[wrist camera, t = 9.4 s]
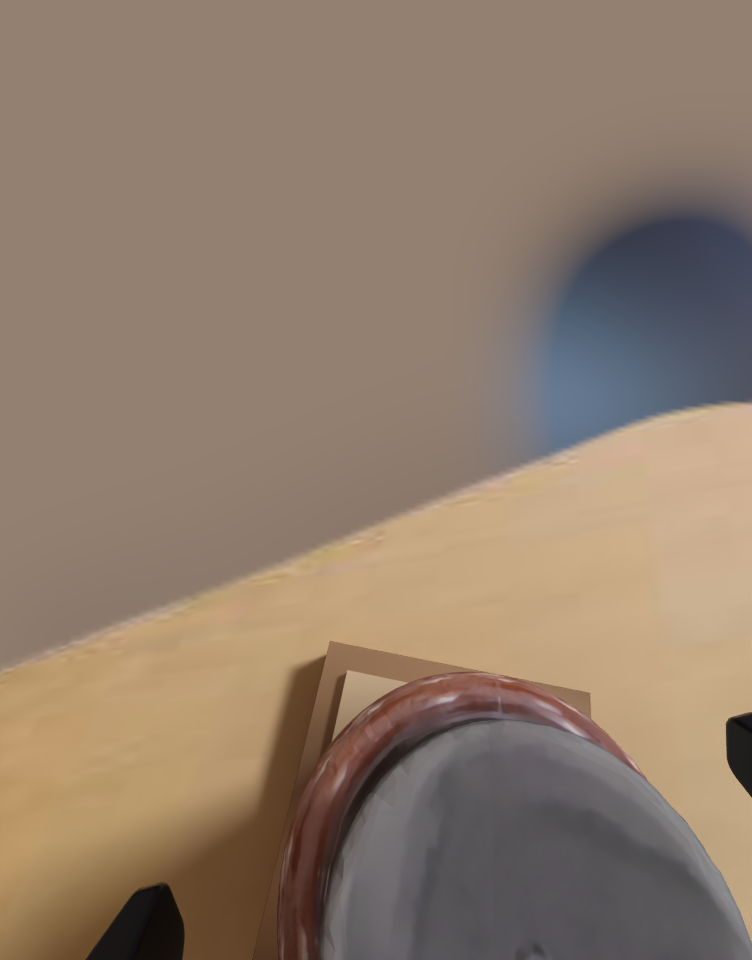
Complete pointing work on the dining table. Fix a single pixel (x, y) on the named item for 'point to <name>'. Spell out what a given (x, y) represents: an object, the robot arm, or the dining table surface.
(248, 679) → the dining table surface
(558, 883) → the supplement bottle
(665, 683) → the dining table surface
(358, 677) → the wooden square coaster
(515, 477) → the dining table surface
